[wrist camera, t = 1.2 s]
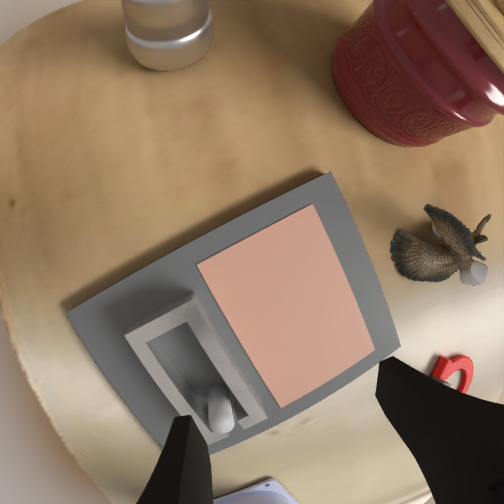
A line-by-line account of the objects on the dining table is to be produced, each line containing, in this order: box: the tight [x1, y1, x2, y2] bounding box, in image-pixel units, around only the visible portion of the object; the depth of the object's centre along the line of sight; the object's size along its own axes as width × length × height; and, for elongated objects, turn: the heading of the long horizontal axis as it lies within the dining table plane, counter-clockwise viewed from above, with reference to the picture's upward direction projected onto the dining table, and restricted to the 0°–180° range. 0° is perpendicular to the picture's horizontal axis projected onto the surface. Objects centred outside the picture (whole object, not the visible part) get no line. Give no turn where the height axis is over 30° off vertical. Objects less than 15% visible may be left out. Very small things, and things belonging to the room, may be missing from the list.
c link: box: [124, 292, 268, 445], centre depth 19 cm, size 5×10×2 cm, turn 27°
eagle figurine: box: [390, 204, 491, 286], centre depth 21 cm, size 8×7×9 cm
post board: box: [66, 171, 401, 455], centre depth 19 cm, size 22×16×5 cm
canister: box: [332, 0, 504, 147], centre depth 13 cm, size 13×13×18 cm
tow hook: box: [430, 355, 473, 394], centre depth 19 cm, size 8×13×9 cm
